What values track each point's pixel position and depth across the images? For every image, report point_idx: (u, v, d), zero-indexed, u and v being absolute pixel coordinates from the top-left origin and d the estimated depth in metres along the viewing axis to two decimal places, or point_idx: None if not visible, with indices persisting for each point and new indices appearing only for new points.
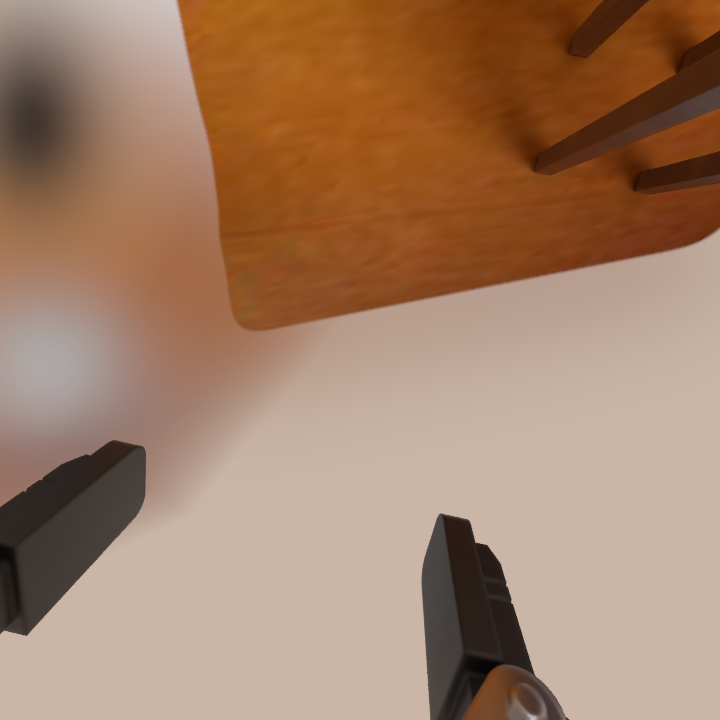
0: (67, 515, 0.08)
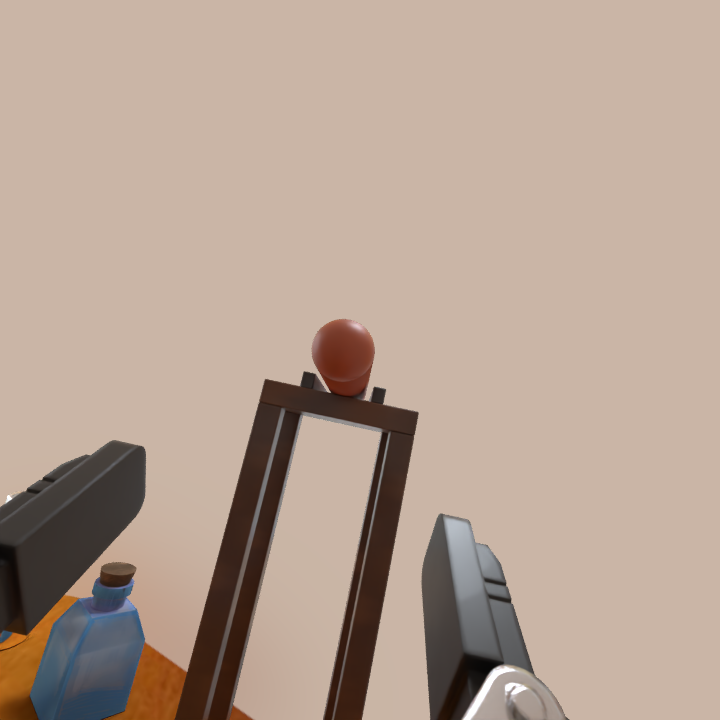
0: (67, 515, 0.08)
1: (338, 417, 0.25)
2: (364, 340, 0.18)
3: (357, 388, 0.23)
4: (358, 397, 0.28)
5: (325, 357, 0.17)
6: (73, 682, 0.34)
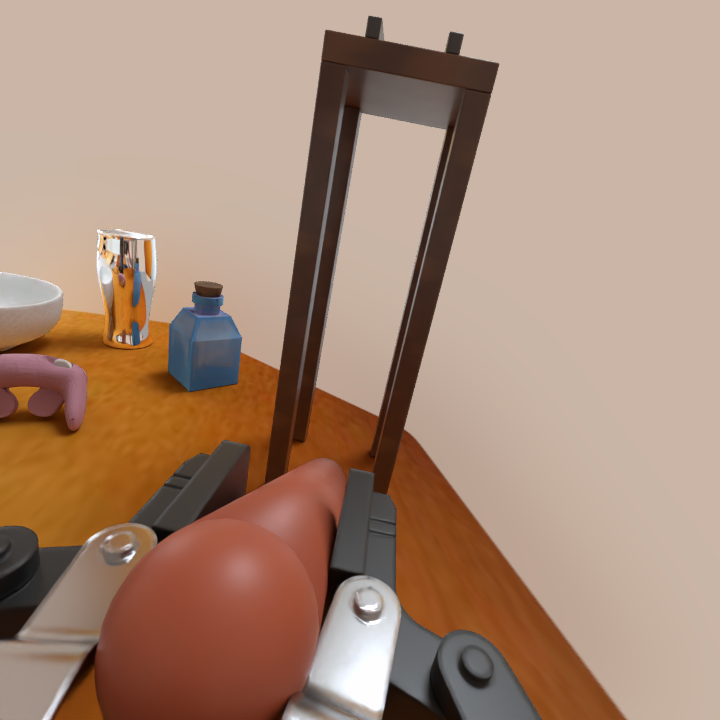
0: (209, 507, 0.09)
1: (408, 74, 0.22)
2: (270, 646, 0.05)
3: None
4: None
5: None
6: (197, 358, 0.45)
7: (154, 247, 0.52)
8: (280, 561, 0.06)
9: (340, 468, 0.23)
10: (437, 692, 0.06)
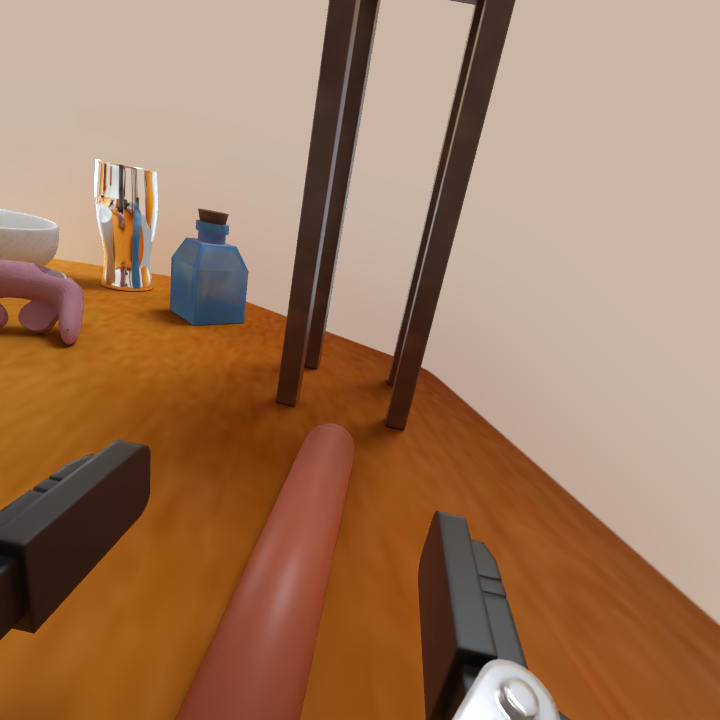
0: (74, 514, 0.08)
1: None
2: None
3: None
4: None
5: None
6: (201, 288, 0.42)
7: (155, 182, 0.49)
8: None
9: (346, 440, 0.22)
10: None
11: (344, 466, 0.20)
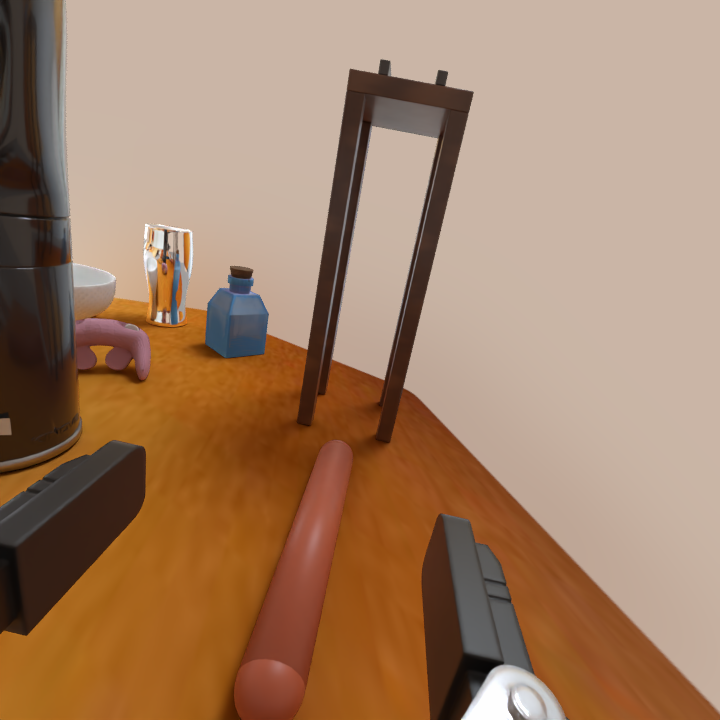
0: (67, 515, 0.08)
1: (409, 100, 0.31)
2: (285, 710, 0.16)
3: None
4: None
5: None
6: (233, 329, 0.54)
7: (191, 239, 0.61)
8: (285, 680, 0.16)
9: (347, 450, 0.33)
10: None
11: (345, 467, 0.31)
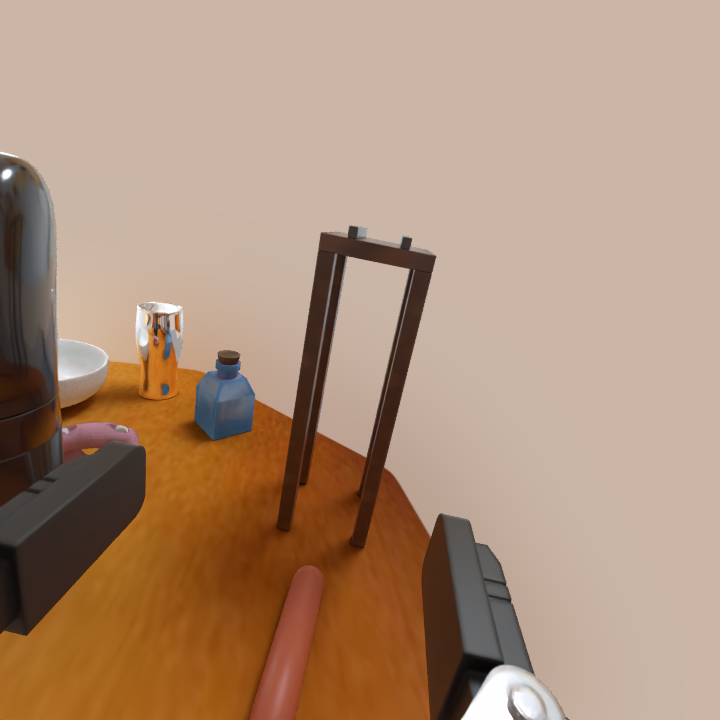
0: (67, 515, 0.08)
1: (376, 260, 0.34)
2: None
3: None
4: None
5: None
6: (220, 414, 0.56)
7: (182, 317, 0.63)
8: None
9: (317, 580, 0.35)
10: None
11: (314, 603, 0.33)
